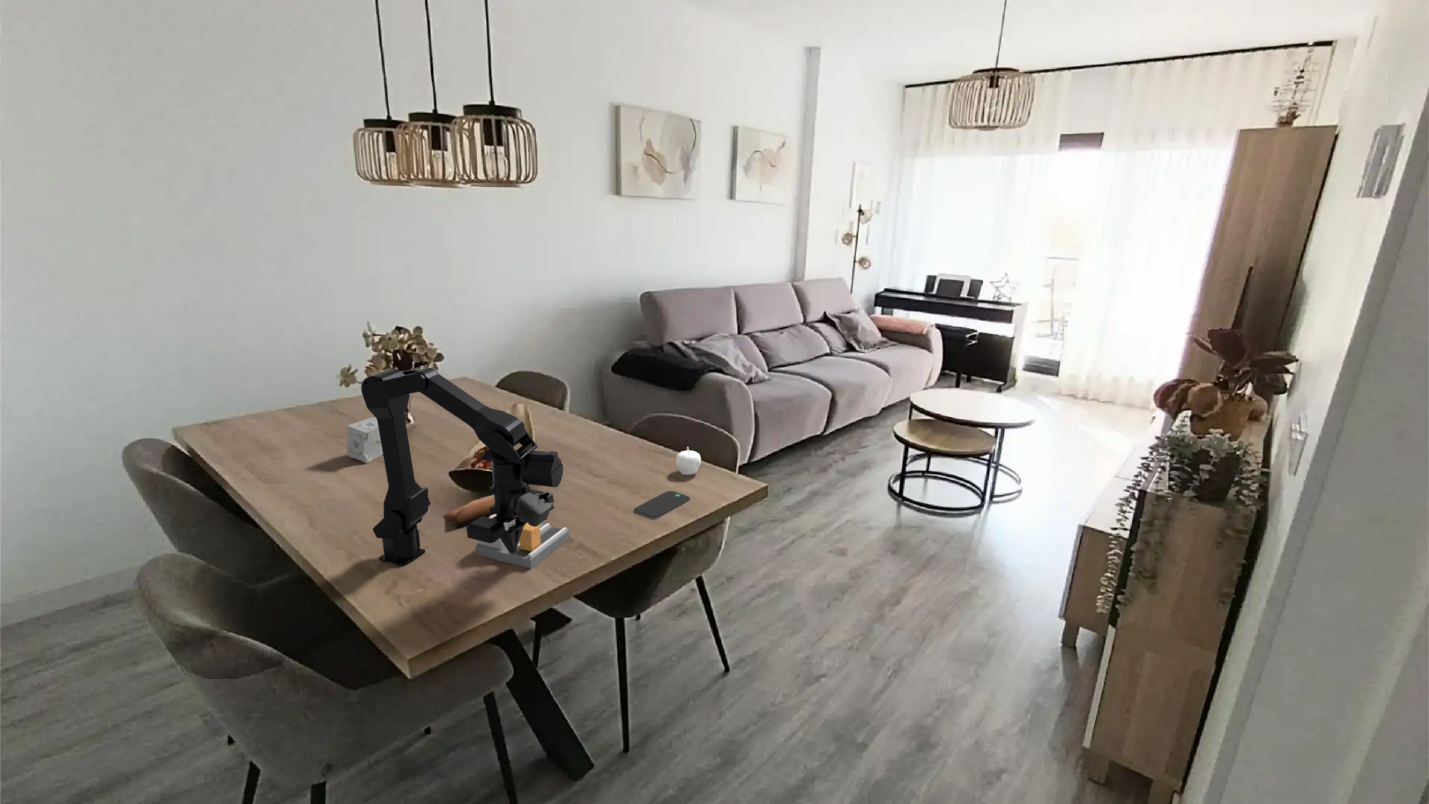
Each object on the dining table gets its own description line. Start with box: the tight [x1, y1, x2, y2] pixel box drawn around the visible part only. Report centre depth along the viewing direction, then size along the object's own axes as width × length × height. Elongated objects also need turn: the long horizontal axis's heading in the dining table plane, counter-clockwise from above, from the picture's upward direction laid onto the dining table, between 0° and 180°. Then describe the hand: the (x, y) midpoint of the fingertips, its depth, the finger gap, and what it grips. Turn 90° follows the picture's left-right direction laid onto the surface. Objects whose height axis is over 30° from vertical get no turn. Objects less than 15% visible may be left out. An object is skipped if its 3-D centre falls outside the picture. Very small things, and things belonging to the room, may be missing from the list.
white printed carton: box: [346, 416, 383, 464], centre depth 186 cm, size 10×8×10 cm
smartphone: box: [633, 490, 691, 520], centre depth 165 cm, size 8×1×15 cm
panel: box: [475, 522, 571, 570], centre depth 142 cm, size 14×14×4 cm
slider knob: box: [520, 523, 541, 552], centre depth 137 cm, size 3×3×5 cm
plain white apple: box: [675, 446, 702, 476], centre depth 184 cm, size 7×7×8 cm
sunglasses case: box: [443, 494, 496, 528], centre depth 157 cm, size 18×7×7 cm
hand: (512, 552), depth 132 cm, fingers closed
